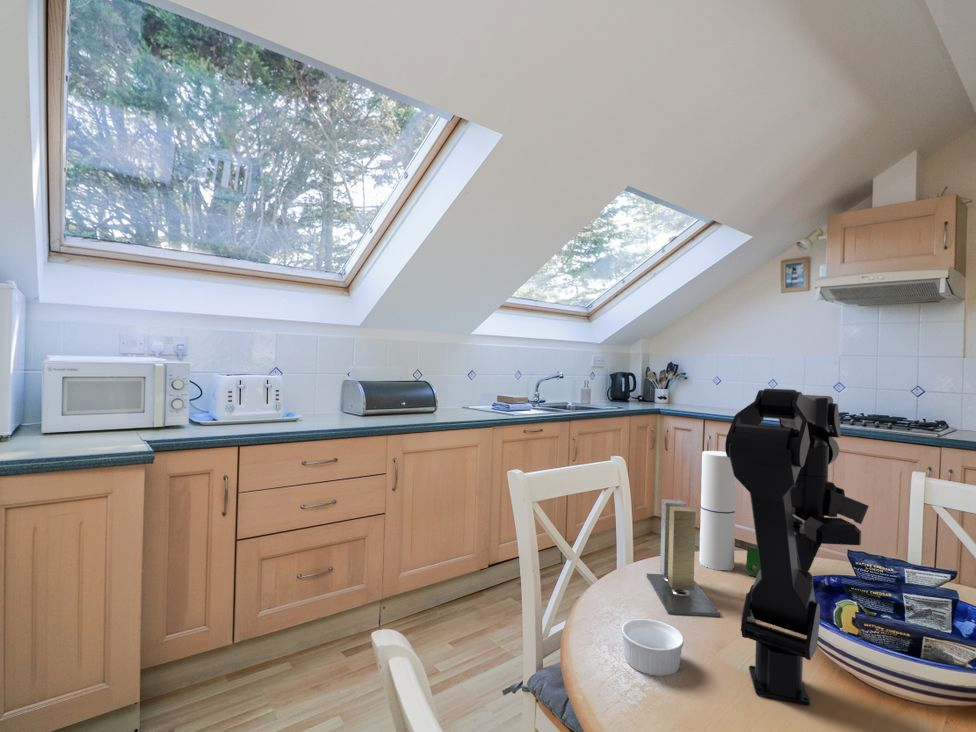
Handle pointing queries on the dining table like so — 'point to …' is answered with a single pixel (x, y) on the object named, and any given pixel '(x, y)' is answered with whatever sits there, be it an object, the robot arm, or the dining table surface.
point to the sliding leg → (681, 548)
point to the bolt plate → (670, 598)
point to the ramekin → (652, 646)
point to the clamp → (753, 561)
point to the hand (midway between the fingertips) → (804, 570)
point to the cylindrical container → (717, 511)
